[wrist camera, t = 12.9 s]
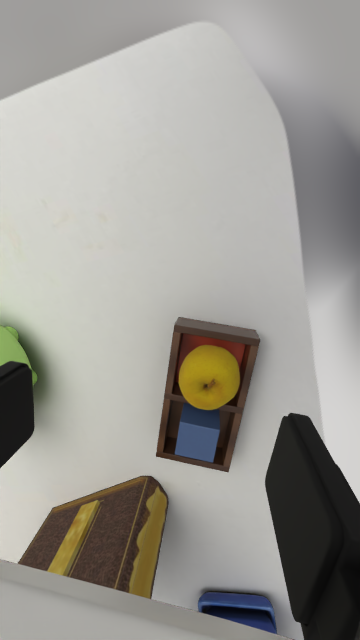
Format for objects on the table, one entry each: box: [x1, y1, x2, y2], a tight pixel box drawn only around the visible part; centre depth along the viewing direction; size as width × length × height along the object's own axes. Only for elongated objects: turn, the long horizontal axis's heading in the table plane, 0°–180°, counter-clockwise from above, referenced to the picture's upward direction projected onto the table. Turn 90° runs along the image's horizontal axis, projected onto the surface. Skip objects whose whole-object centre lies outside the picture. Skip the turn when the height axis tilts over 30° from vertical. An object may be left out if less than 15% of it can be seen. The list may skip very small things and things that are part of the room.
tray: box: [156, 317, 260, 472], centre depth 31 cm, size 17×9×3 cm, turn 172°
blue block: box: [175, 403, 220, 462], centre depth 31 cm, size 4×4×4 cm
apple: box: [179, 345, 240, 410], centre depth 27 cm, size 6×6×8 cm
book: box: [18, 476, 168, 599], centre depth 28 cm, size 22×8×25 cm, turn 119°
